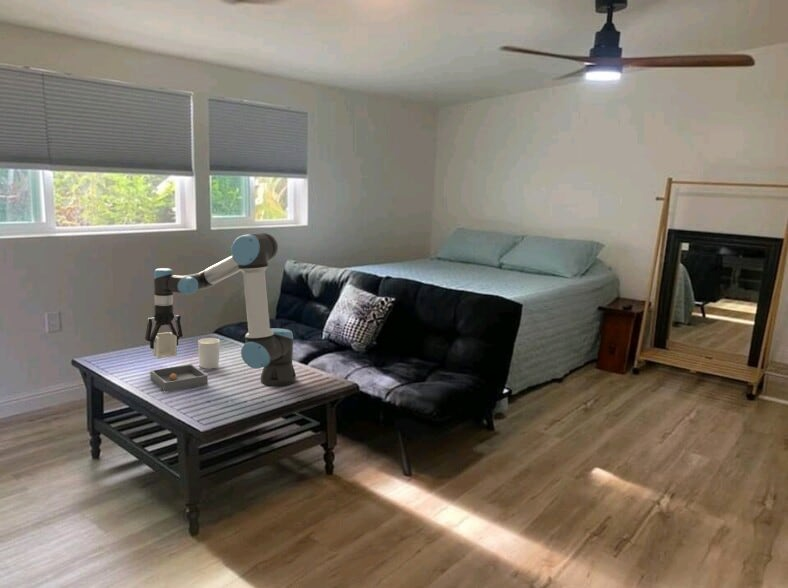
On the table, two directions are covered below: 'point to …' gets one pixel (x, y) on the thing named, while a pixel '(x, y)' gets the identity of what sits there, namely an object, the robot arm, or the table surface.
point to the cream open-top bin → (166, 345)
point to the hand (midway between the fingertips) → (164, 354)
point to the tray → (179, 377)
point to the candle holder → (209, 352)
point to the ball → (173, 377)
